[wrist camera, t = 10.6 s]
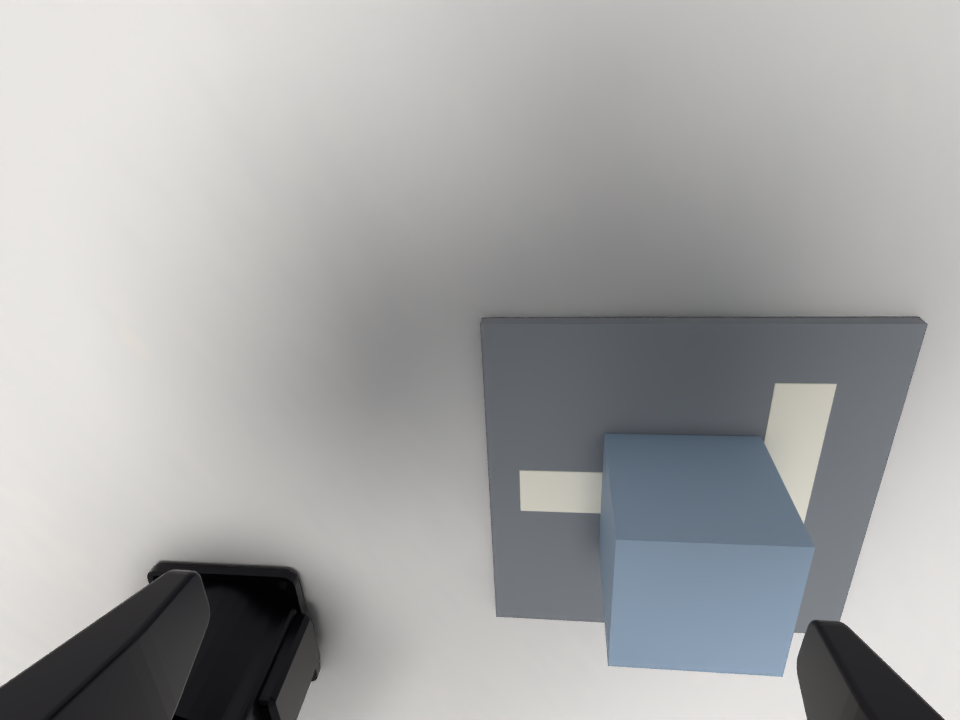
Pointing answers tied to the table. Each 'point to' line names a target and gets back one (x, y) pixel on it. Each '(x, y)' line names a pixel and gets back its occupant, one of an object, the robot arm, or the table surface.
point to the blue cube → (699, 554)
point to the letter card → (683, 433)
